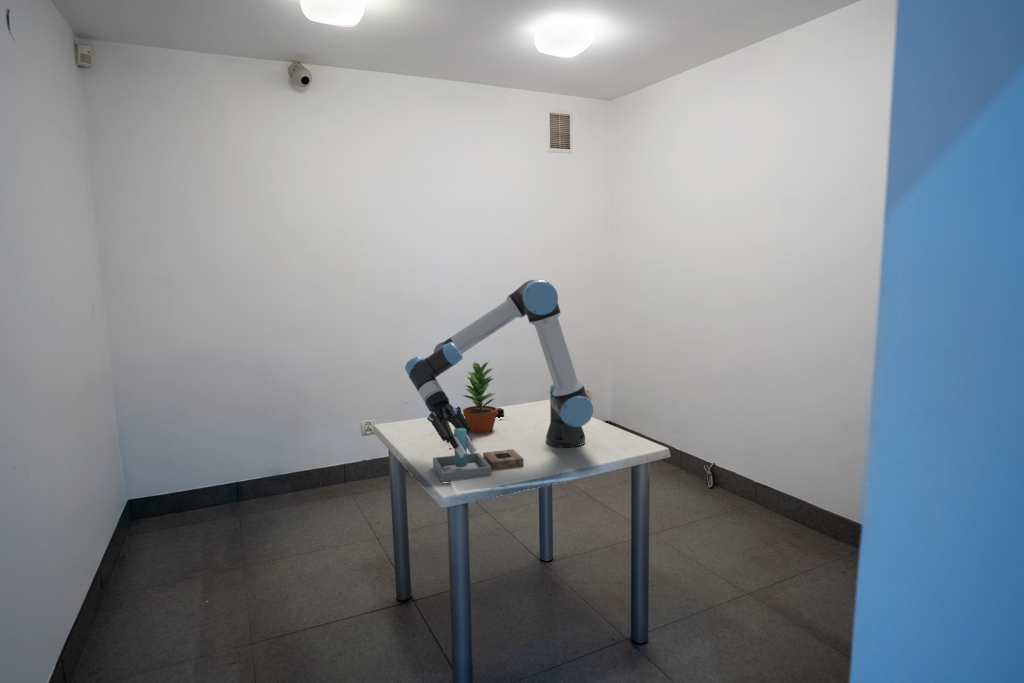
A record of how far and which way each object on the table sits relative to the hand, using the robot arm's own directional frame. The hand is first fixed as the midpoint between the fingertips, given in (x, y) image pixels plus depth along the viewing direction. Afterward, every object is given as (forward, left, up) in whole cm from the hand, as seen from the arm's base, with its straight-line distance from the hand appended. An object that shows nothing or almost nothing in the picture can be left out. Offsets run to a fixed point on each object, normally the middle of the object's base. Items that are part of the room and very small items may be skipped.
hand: (468, 453), depth 183 cm
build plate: (-31, -69, -8) cm, 76 cm away
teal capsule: (+2, -3, -5) cm, 6 cm away
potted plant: (-17, -51, -7) cm, 55 cm away
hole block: (-13, -5, -7) cm, 16 cm away
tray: (+2, -3, -7) cm, 8 cm away
